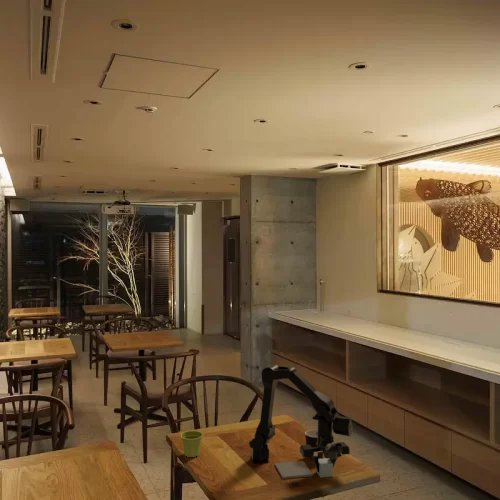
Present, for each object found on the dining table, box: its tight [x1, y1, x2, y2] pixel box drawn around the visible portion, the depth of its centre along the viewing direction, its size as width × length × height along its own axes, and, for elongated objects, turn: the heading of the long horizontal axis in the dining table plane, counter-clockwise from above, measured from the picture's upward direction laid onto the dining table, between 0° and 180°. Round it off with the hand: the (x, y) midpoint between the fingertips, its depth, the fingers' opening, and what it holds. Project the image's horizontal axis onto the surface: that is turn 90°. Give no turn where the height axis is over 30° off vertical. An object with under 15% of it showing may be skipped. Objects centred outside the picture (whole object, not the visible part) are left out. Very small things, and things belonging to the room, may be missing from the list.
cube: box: [315, 457, 334, 478], centre depth 200 cm, size 5×5×5 cm
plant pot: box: [180, 430, 204, 458], centre depth 217 cm, size 9×9×9 cm
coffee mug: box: [304, 429, 324, 461], centre depth 217 cm, size 12×9×10 cm
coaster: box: [274, 460, 314, 480], centre depth 203 cm, size 12×12×1 cm
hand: (324, 471), depth 201 cm, fingers closed on cube, 5 cm apart
